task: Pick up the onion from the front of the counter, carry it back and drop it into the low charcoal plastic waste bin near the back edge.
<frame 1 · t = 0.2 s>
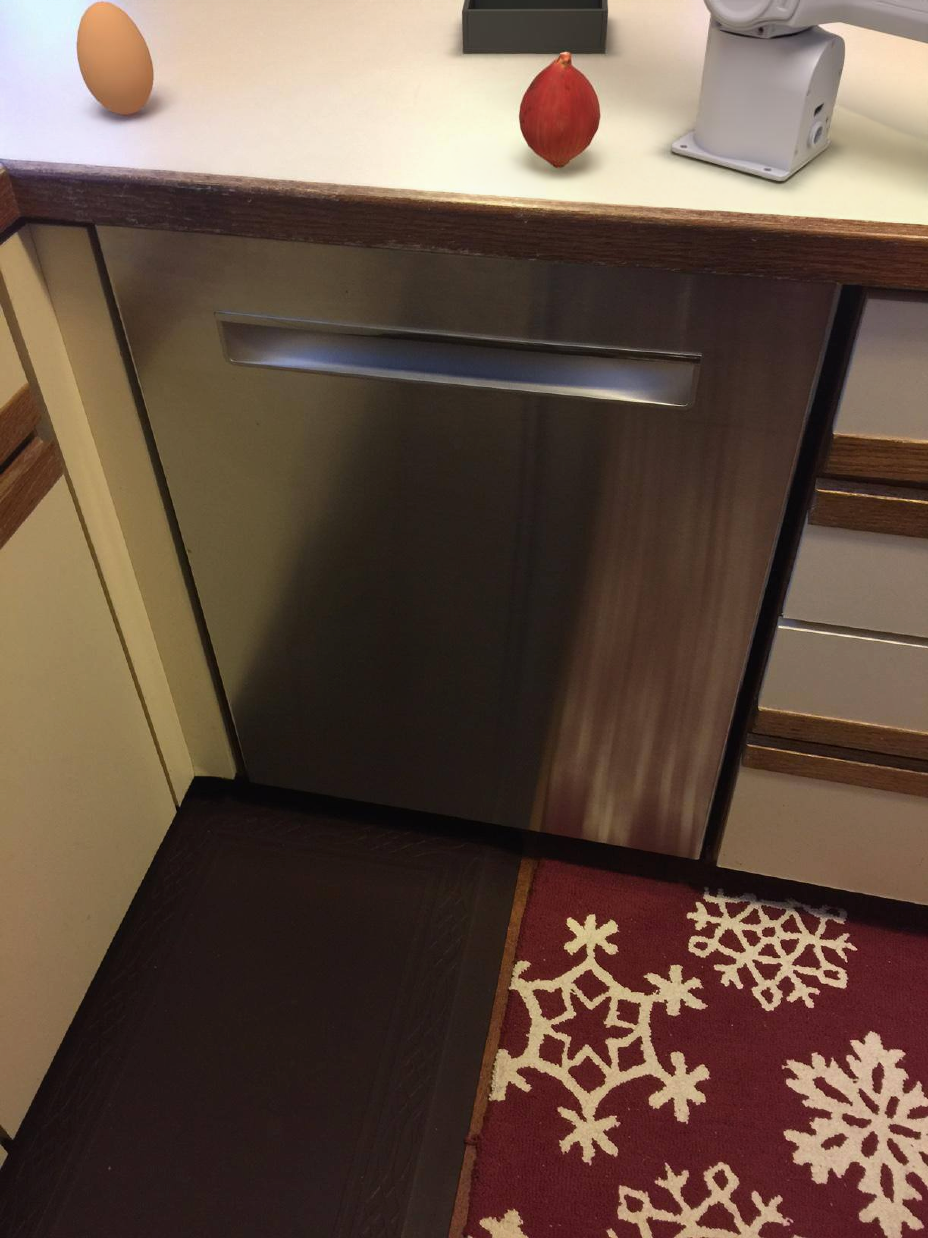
onion: (557, 169, 78), on the worktop
egg: (128, 115, 87), on the worktop
bin: (535, 36, 97), on the worktop
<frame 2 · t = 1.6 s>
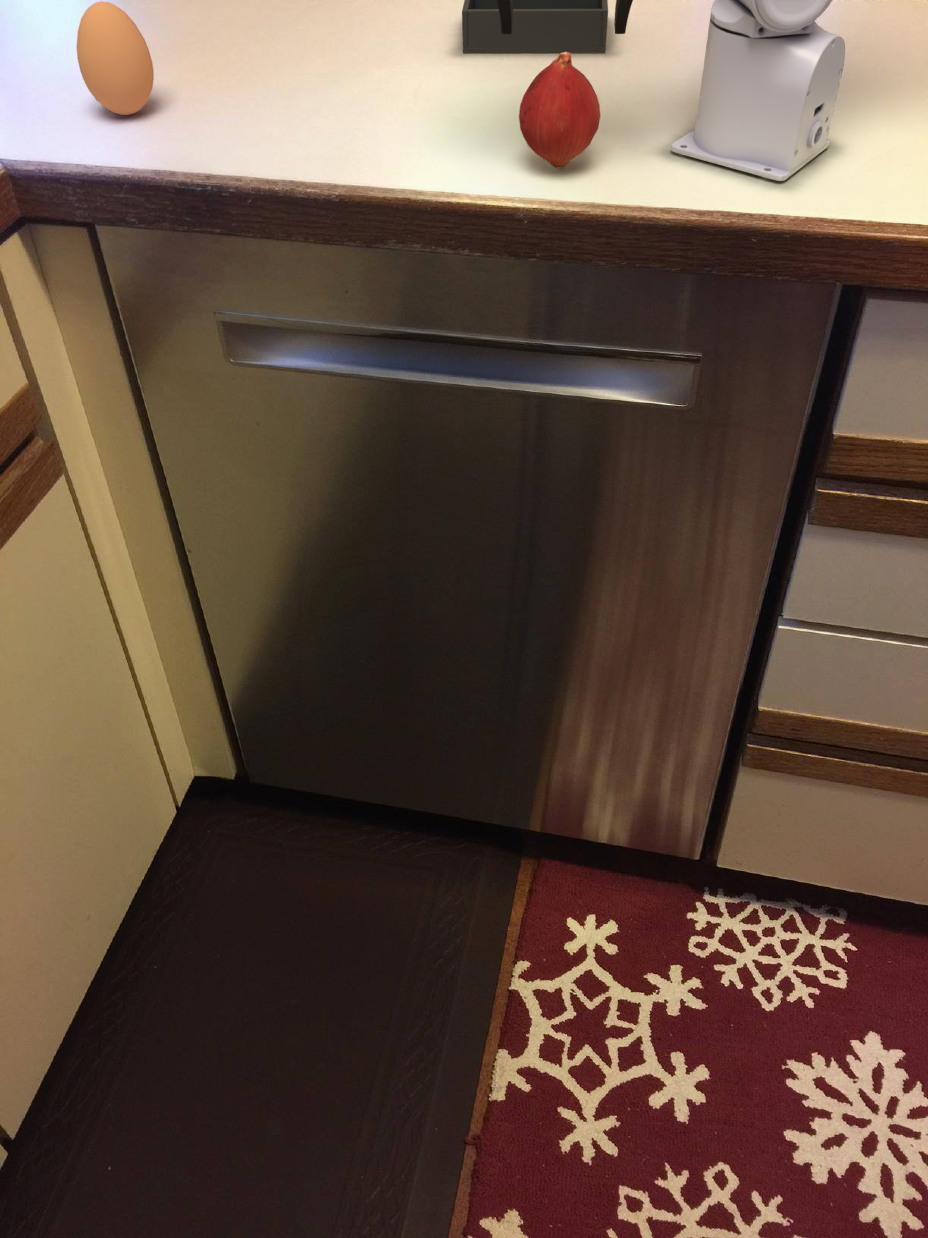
hand: (563, 29, 71), 9 cm above the worktop, tool pointing down, fingers open, 7 cm apart
nothing on the worktop moved.
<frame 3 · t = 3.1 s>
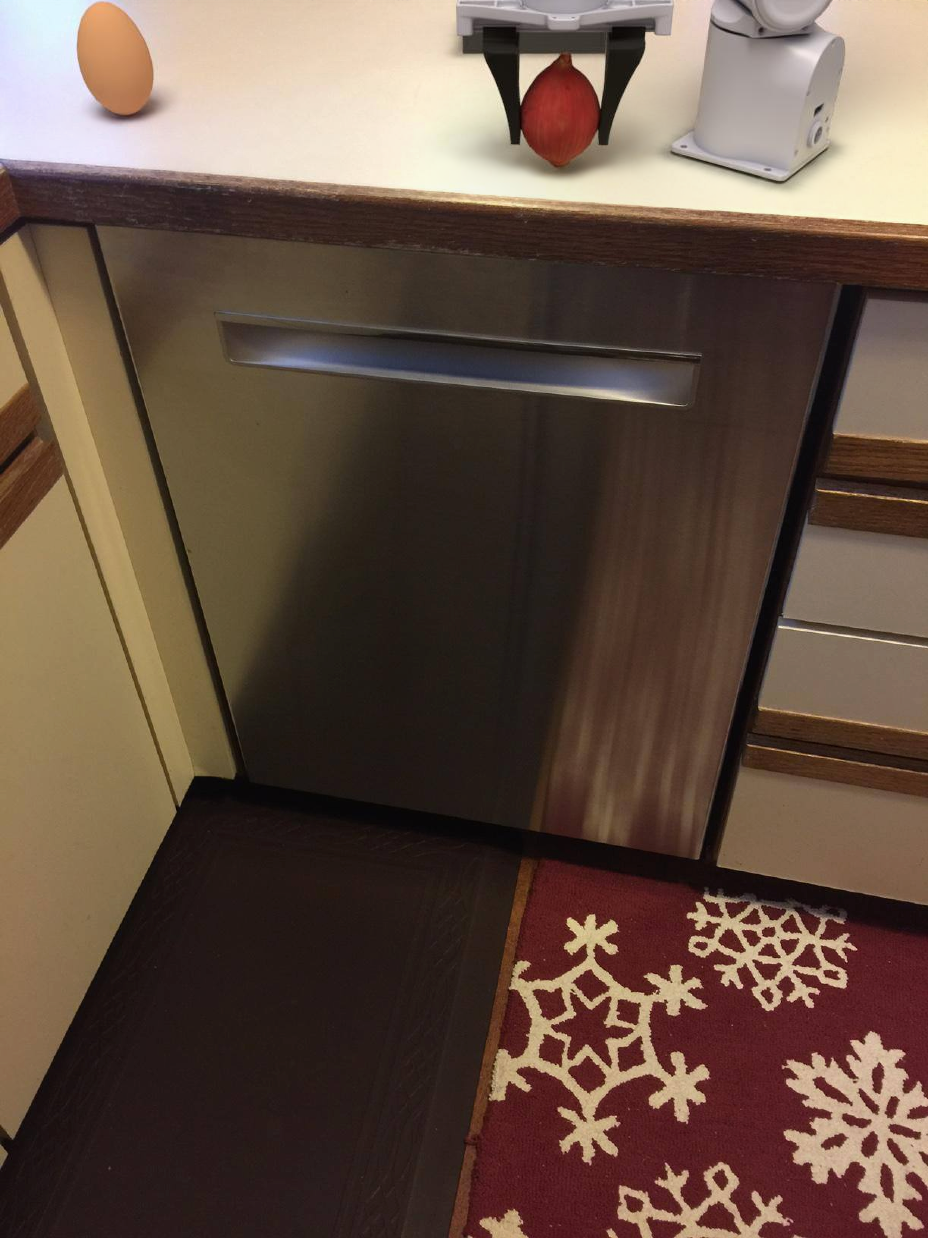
hand: (558, 139, 76), 2 cm above the worktop, tool pointing down, fingers closed on onion, 6 cm apart
onion: (557, 169, 78), on the worktop, touching gripper
everything else where it was.
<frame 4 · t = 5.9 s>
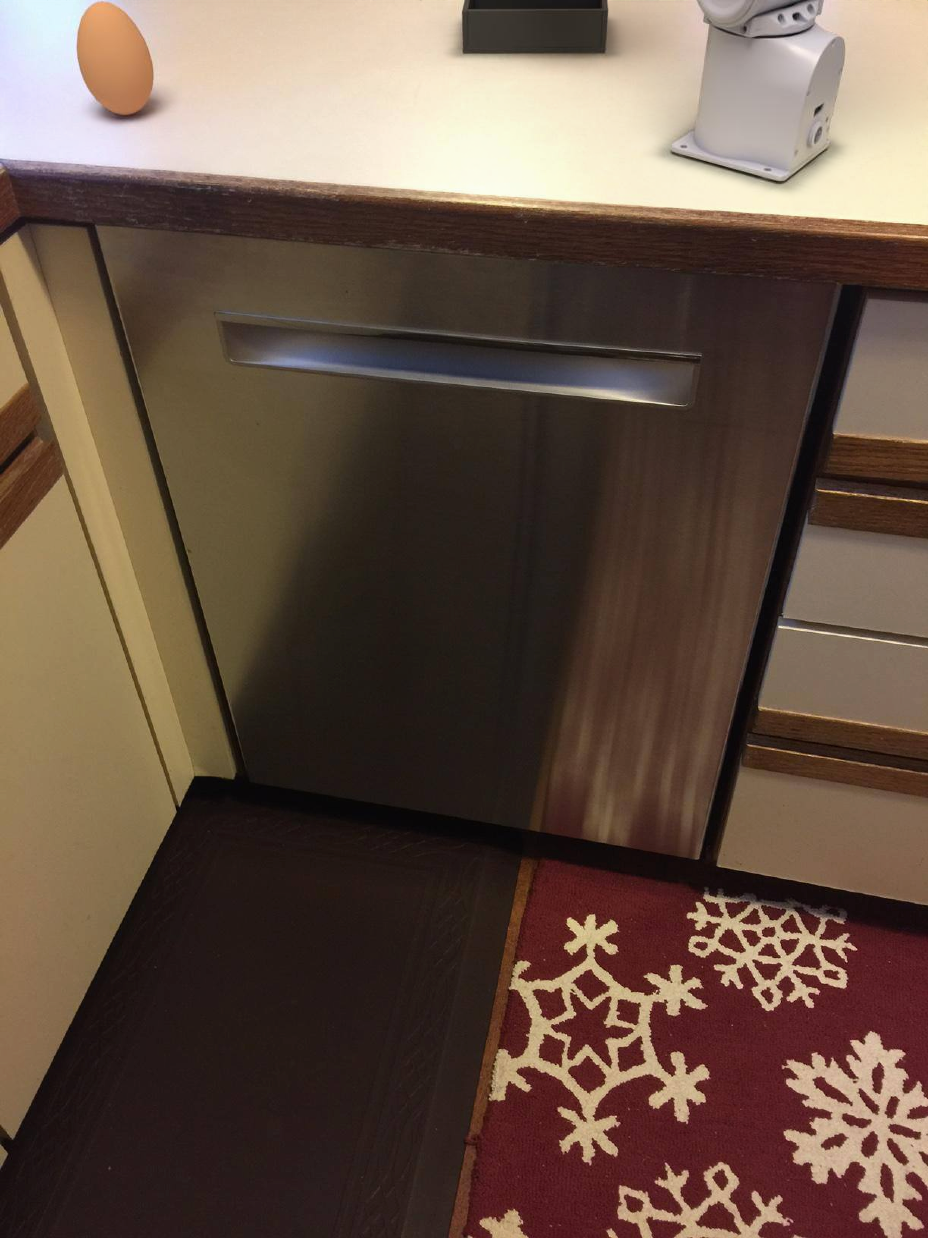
when the fingers open (2 cm above the worktop, at t = 8.9 s): onion stays where it is, resting on bin.
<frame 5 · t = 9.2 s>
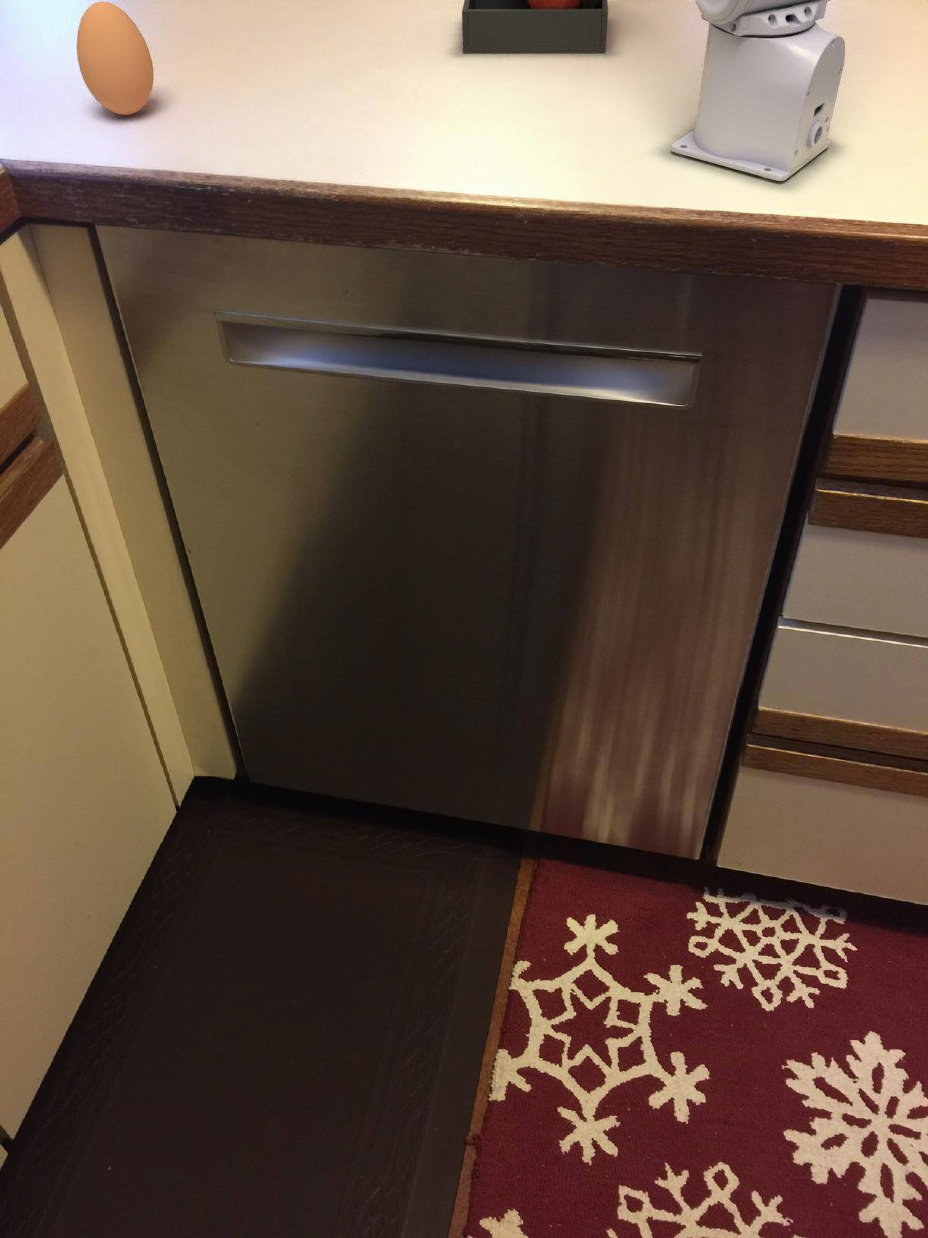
hand: (556, 1, 94), 3 cm above the worktop, tool pointing down, fingers open, 7 cm apart
onion: (555, 33, 96), resting on bin
everything else where it was.
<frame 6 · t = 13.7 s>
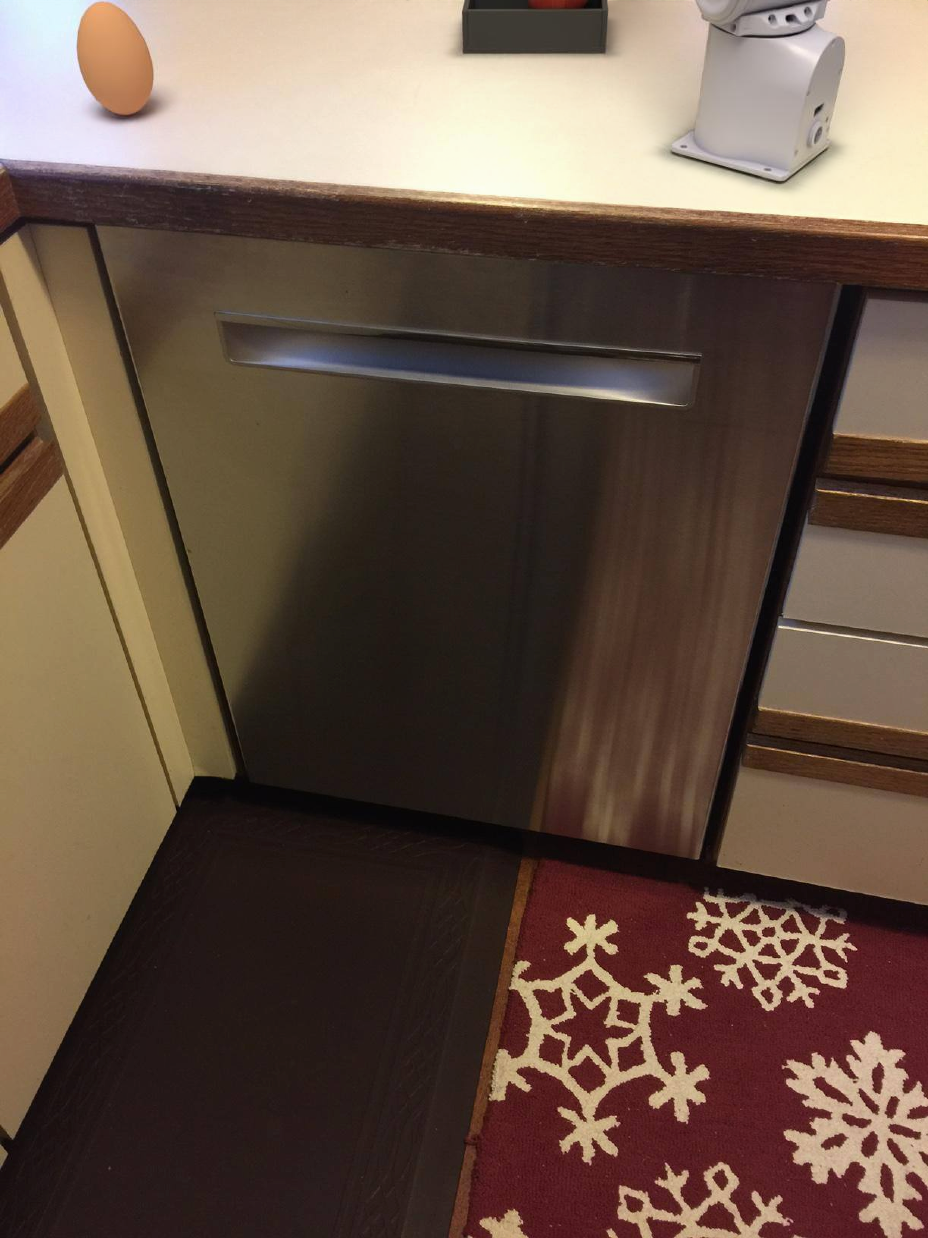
nothing on the worktop moved.
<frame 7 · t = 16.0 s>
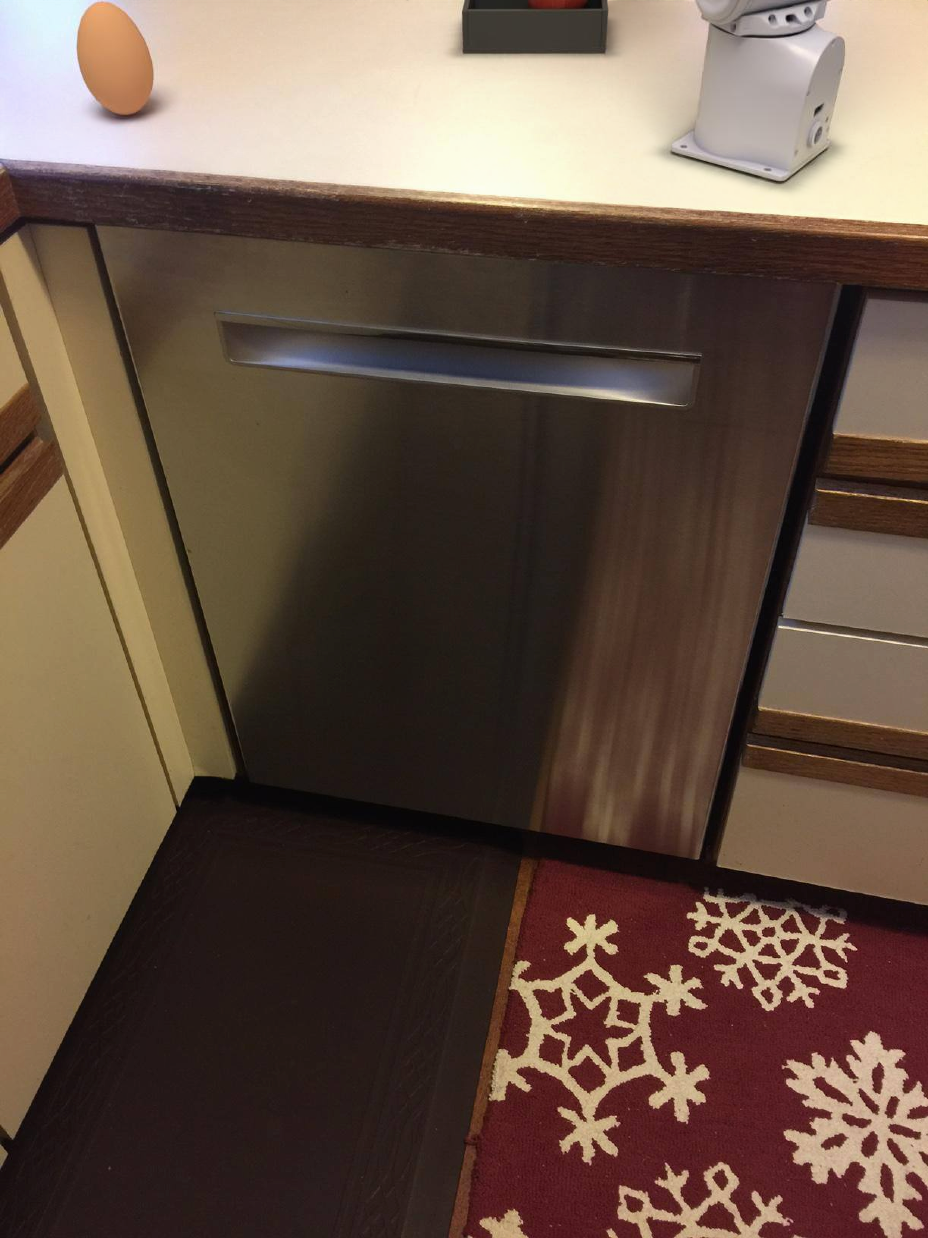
nothing on the worktop moved.
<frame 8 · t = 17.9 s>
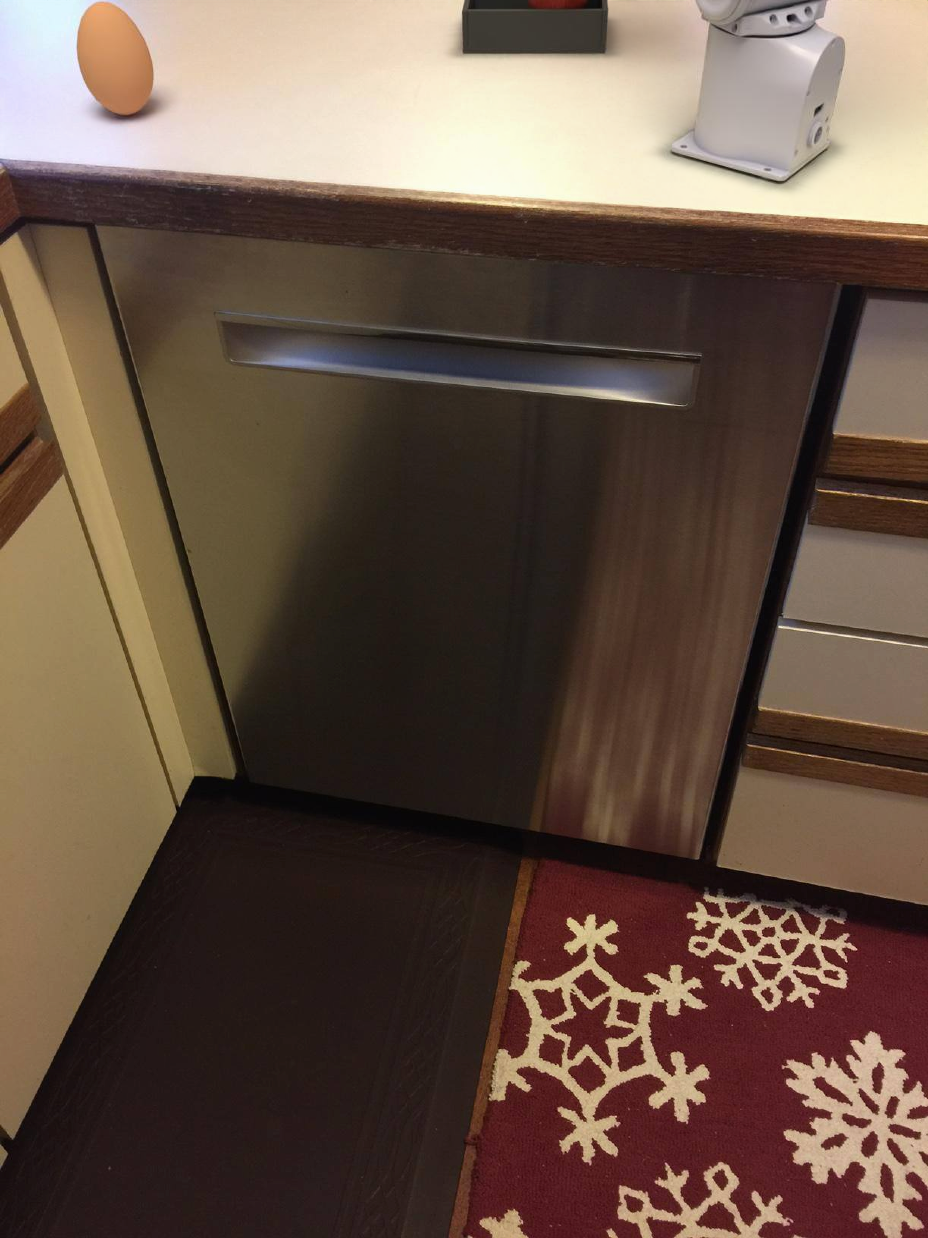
nothing on the worktop moved.
at the end: onion inside the target area in the bin (1.9 cm from its centre), point 0.3 cm above the bin's base; the gripper is holding nothing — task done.
